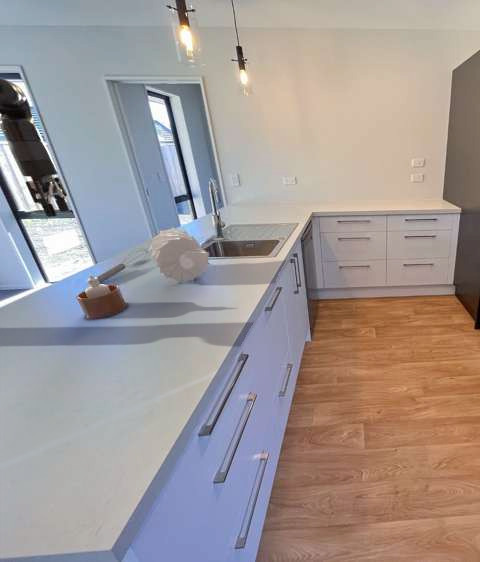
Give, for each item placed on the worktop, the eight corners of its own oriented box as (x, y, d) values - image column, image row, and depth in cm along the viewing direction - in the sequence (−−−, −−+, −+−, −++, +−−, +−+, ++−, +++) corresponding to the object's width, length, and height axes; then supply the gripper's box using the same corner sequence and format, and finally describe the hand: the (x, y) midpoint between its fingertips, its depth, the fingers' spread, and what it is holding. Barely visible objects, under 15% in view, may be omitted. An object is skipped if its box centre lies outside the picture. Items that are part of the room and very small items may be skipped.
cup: (80, 321, 92) (70, 301, 89) (93, 307, 101) (84, 288, 98) (121, 314, 96) (112, 294, 93) (129, 300, 104) (122, 282, 101)
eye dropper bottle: (99, 306, 99) (84, 273, 94) (119, 304, 101) (104, 271, 96) (92, 313, 96) (75, 279, 91) (112, 310, 97) (97, 276, 92)
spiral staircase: (182, 294, 116) (169, 273, 133) (221, 266, 123) (204, 249, 139) (144, 260, 104) (135, 242, 121) (189, 231, 110) (174, 217, 127)
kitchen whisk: (83, 288, 115) (76, 273, 112) (143, 258, 146) (139, 245, 143) (100, 287, 115) (93, 272, 112) (156, 257, 146) (151, 245, 143)
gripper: (29, 158, 92) (54, 211, 99) (0, 159, 80) (30, 219, 87) (61, 157, 95) (83, 208, 102) (37, 158, 83) (64, 216, 90)
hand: (59, 213), depth 94 cm, fingers open, 8 cm apart
